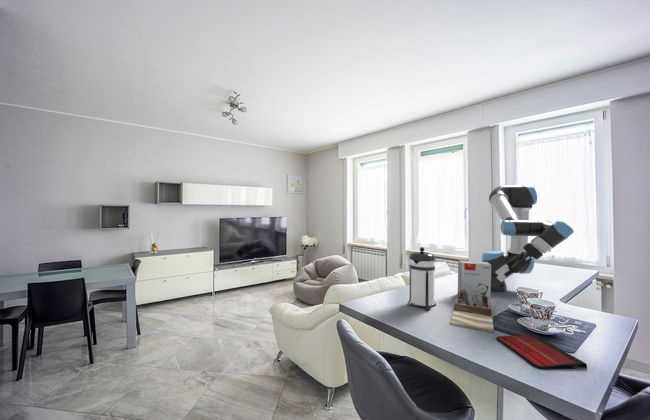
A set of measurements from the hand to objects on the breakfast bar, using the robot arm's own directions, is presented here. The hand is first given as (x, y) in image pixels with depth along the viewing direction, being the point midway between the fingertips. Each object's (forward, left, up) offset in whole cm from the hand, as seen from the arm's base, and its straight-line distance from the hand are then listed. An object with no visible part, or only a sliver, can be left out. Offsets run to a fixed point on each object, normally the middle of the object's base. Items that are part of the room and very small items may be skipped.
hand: (498, 276), depth 133 cm
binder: (+39, +9, -17) cm, 43 cm away
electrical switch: (0, -11, -17) cm, 20 cm away
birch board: (+21, -11, -17) cm, 29 cm away
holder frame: (0, -11, -17) cm, 20 cm away
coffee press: (+10, -34, -17) cm, 39 cm away
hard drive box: (-18, -11, -17) cm, 27 cm away
